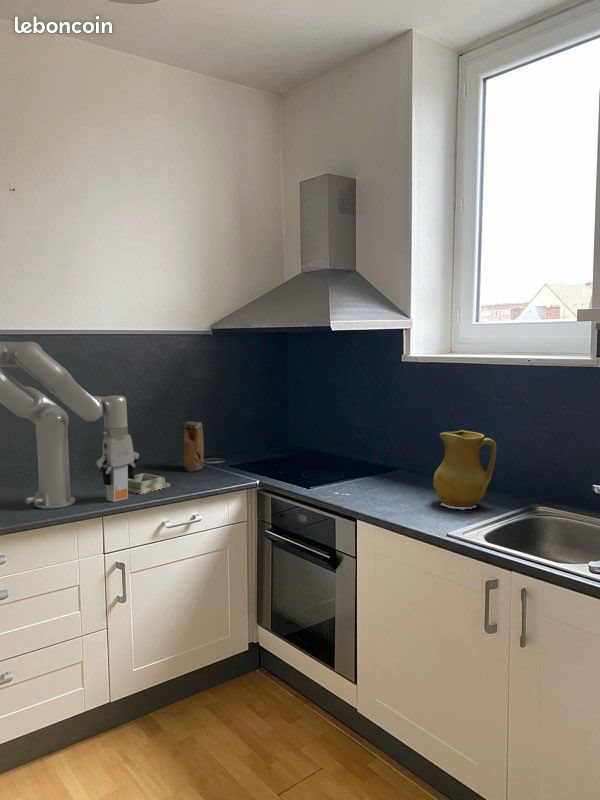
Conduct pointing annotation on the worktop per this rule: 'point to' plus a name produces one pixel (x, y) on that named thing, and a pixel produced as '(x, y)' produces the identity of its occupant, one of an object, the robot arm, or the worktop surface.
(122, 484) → the skincare box
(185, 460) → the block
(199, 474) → the worktop surface
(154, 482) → the socket stand
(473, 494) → the pitcher
